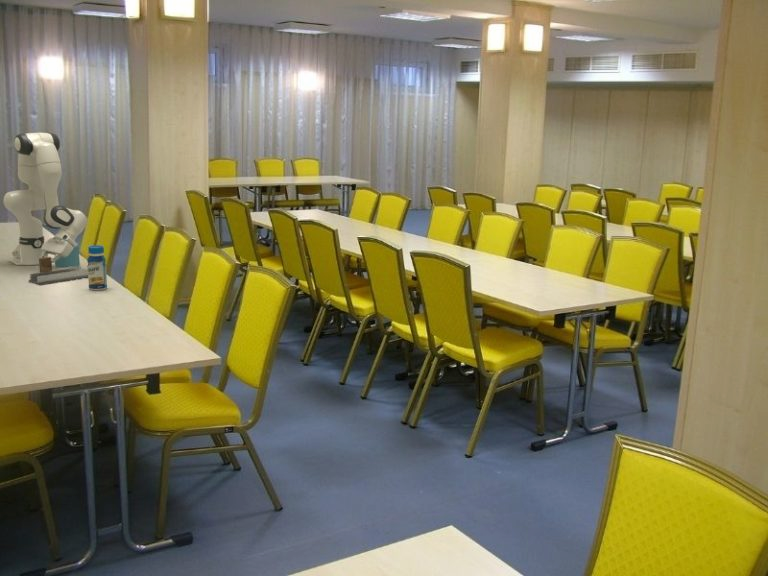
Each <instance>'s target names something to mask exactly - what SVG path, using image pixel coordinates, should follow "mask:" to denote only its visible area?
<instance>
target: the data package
mask: <svg viewBox="0 0 768 576" xmlns="http://www.w3.org/2000/svg"><path fill="white" fill-rule="evenodd" d="M76 244H77V246H76V247H74V248H73V250H72V251H71V253H70V254H69V255H68V256H67V257H65V258H64V257H60V258H59V259H58V260H56V261H55V262H54V265H55V267H56V268H58V267H59V268H70V267H69V266H77V267H80V263H81V262H80V248H79V247H80V246H79V244H78V243H77V242H76ZM55 256H56V255H53V257H55Z"/></svg>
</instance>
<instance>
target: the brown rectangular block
mask: <svg viewBox="0 0 768 576" xmlns="http://www.w3.org/2000/svg"><path fill="white" fill-rule="evenodd" d="M52 258H53V257H50V256H48V257H44V258H39V264H38V267H39V273H41V272H48V271H53V263H52V262H51V261H50V260H51V259H52Z"/></svg>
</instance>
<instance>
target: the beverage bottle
mask: <svg viewBox="0 0 768 576" xmlns="http://www.w3.org/2000/svg"><path fill="white" fill-rule="evenodd" d="M104 248H105V247H104V246H103V245H99V244H98V245H89V246H88V249H87V250H88V254H89V256H88V258H87V260H86V261H87V266H86V269H88V278H87V280H88V289H89V290H91V291H103V290H106V289H108V277H107V275H108V274H107V264H106V262H107V259H106V258H105V255H103V254H104V252H105V249H104Z"/></svg>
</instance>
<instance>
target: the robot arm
mask: <svg viewBox="0 0 768 576" xmlns="http://www.w3.org/2000/svg"><path fill="white" fill-rule="evenodd" d="M13 146H14V149H15V151H16V153H18V155H17V156H18V157H17V178H18V180H19V181H21V182H22V183H24V184H26V185H28V189H20V190H18V189H17V190H12V191H8V192H6V193H5V194H4V196H3V205H4V207H5V208H6V210H8V211H9V212H11V213H12V214H13V215H14V216H15V217H16V220H17V222H18V225H19V232H20V233H19V235H20V236H19V238H18V245H17V246H16V247H15V248H14V249H13V251H12V253H11V254H12V258H8V262H10V263H12V264H14V265H15V266H36V265H38V266H39V258H44V257H49V255H53V257H51V258H52V259H51V260H50V261H51V262H52V264H55V261H56V260H58V259H59V258H60V257H64V258H65V257H67V256H68V255H69V254H70V253H71V251H72V250H73V248H74V247H76V246H77V244H78V243H77V242H76V239H77V237H78V236H79V235H80V234H81V233H82V232H83V231H84V229H85V228H86V226H87V224H88V220H89V219H88V217H87V216H86V214H85V213H84V212H83V211H81V210H79V209H71V208H68V207H65V206H64V205H60V203H59V196H58V187H59V183H60V181H61V179H62V174H63V173H62V172H63V171H62V163H61V160H60V159H61V158H60V156H59V155H60V154H59V153H58V151H59V150H60V147H61V142H60V139H59V136H58V135H57V134H55V133H53V132H37V131H36V132H27V133H18V134H17V135H15V137H14V140H13ZM43 210H45V213H44V217H43V221H44V223H45V225H46V226H47V228H50V229H53V230H58V229H59V230H58V231H57V232H56V234H55V235H54V236H53V237H51V238H48V239H47V240H46V241H45V236H44V232H43V231H44V230H43V228H44V227H43V222H42V221H41V219H39V218H37V217H35V216H33V215H32V211H43ZM76 243H77V244H76ZM54 255H56V256H54Z"/></svg>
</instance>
